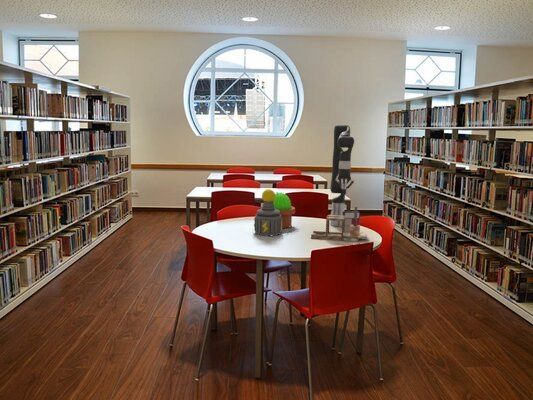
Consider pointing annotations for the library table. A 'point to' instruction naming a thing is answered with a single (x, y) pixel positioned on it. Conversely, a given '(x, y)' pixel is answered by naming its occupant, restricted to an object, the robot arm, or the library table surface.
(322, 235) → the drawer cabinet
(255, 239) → the library table surface
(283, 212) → the potted cactus
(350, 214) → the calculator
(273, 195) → the decorative lamp
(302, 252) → the library table surface
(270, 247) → the library table surface
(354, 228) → the cube with grey rod
